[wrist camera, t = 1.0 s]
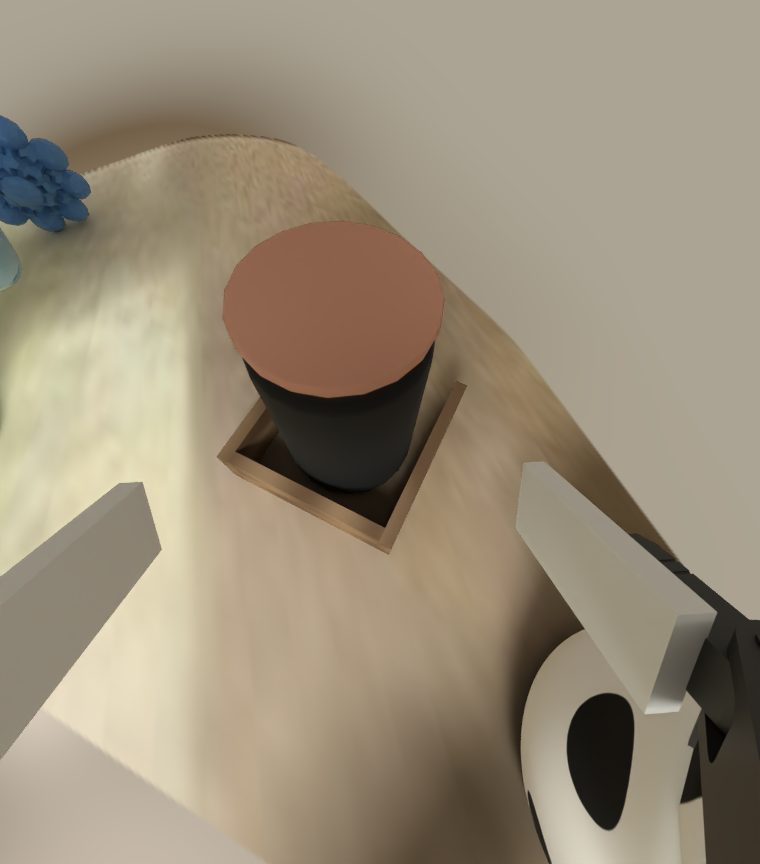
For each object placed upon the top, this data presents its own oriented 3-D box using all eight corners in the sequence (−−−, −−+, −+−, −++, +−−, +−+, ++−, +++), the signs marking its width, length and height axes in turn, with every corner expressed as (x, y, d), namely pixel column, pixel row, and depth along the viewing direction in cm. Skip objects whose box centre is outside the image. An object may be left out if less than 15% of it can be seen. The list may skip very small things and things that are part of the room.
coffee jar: (343, 372, 37) (323, 193, 21) (430, 432, 34) (486, 281, 18) (268, 450, 33) (171, 306, 17) (360, 522, 31) (350, 436, 14)
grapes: (14, 269, 42) (-113, 151, 31) (3, 233, 44) (-118, 112, 33) (118, 234, 44) (36, 115, 33) (103, 203, 47) (22, 82, 36)
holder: (235, 474, 32) (216, 456, 28) (321, 351, 38) (316, 321, 34) (388, 554, 30) (391, 547, 26) (455, 409, 35) (467, 385, 31)
